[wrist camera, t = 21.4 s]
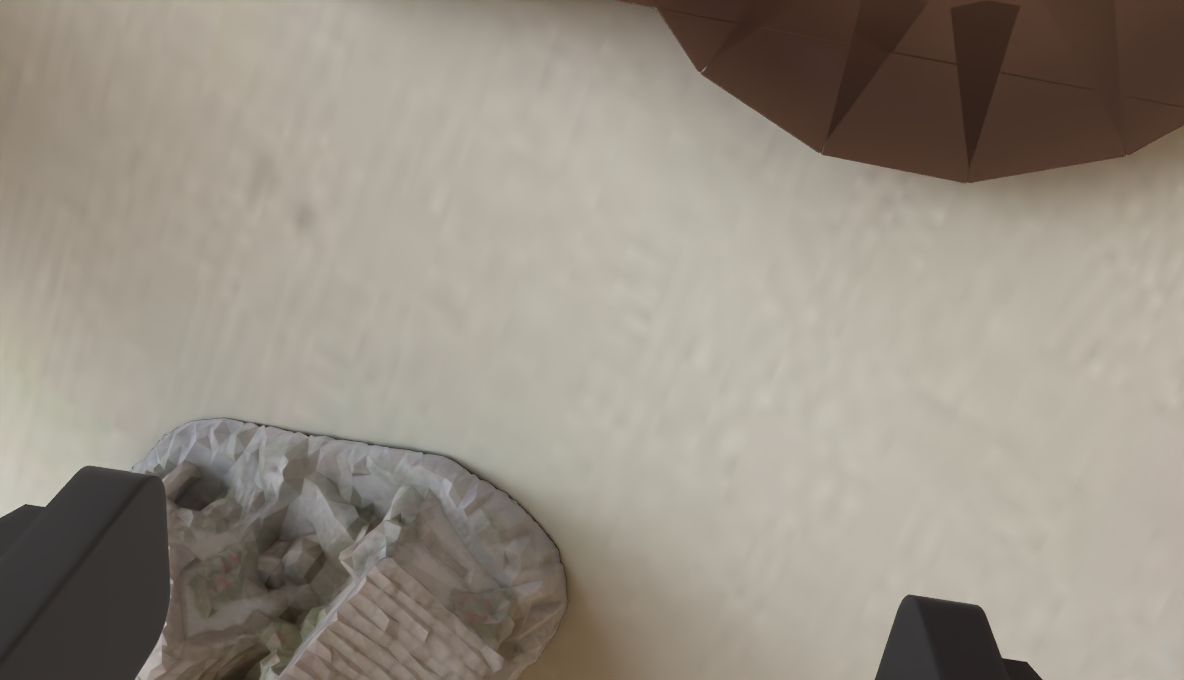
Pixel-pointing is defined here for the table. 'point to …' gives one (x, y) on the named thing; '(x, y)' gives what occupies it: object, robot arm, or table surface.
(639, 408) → the table surface
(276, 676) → the ceramic cottage
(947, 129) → the brown keyhole base
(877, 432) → the table surface
